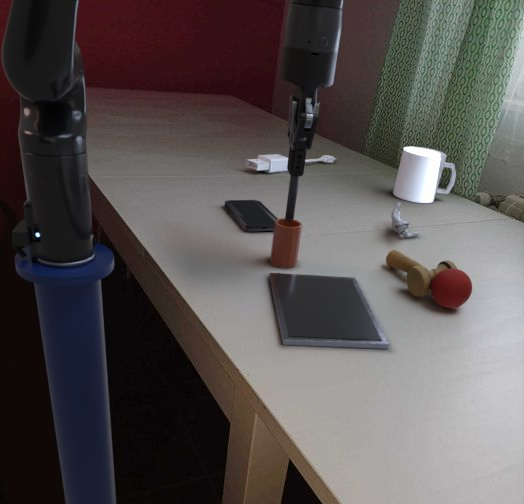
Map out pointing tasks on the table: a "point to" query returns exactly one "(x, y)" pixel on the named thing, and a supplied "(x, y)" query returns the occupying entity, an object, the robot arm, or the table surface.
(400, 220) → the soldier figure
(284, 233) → the pen cup
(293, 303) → the tablet
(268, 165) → the charging cable
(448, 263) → the kendama
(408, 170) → the mug
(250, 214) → the phone
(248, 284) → the table surface
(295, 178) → the stylus
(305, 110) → the robot arm
